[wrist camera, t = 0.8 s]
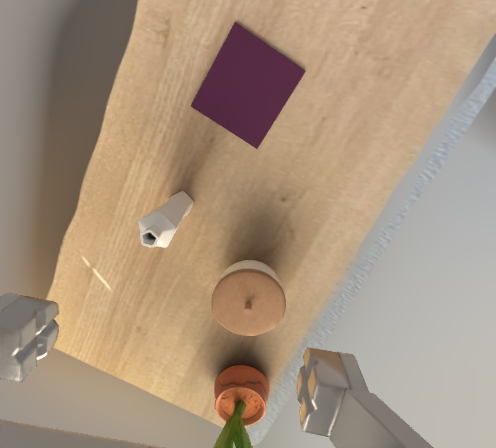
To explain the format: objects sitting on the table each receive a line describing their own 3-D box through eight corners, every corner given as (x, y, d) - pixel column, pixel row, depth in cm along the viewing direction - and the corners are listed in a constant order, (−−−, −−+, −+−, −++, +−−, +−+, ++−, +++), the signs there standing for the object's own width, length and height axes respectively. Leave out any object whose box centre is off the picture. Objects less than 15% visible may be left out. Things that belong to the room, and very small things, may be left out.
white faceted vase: (160, 202, 51) (119, 237, 37) (179, 184, 50) (145, 212, 36) (181, 223, 52) (149, 265, 38) (200, 206, 51) (175, 242, 37)
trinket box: (207, 290, 56) (197, 324, 47) (236, 238, 53) (230, 264, 44) (263, 317, 57) (263, 355, 48) (295, 267, 54) (301, 298, 45)
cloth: (235, 22, 43) (235, 22, 43) (305, 71, 44) (305, 71, 44) (191, 106, 46) (190, 105, 46) (257, 148, 48) (257, 148, 48)
